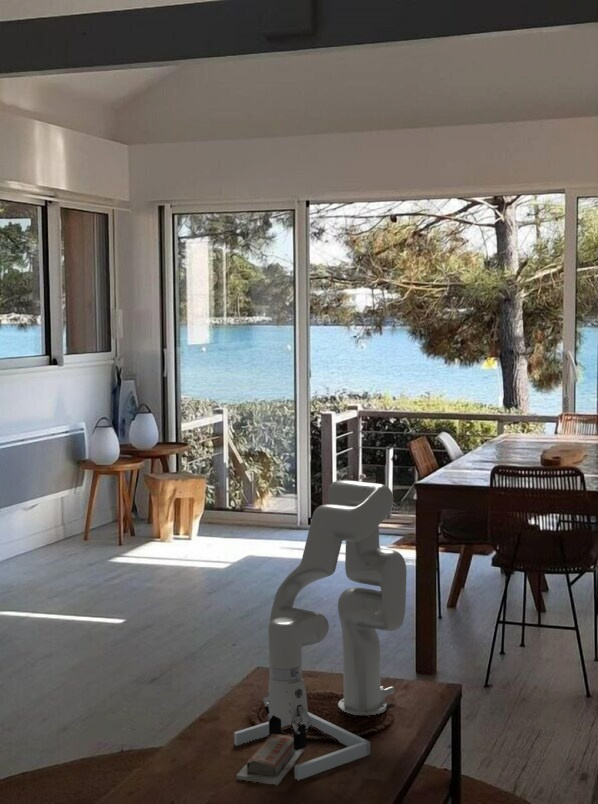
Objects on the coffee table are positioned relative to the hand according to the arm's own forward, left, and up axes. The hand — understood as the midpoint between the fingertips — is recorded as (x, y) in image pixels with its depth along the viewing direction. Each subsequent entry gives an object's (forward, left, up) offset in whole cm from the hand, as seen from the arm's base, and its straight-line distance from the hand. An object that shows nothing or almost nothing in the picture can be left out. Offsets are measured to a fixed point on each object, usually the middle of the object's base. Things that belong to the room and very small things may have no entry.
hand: (287, 742), depth 264 cm
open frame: (-3, 0, -3) cm, 4 cm away
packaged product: (+7, +3, -4) cm, 8 cm away
